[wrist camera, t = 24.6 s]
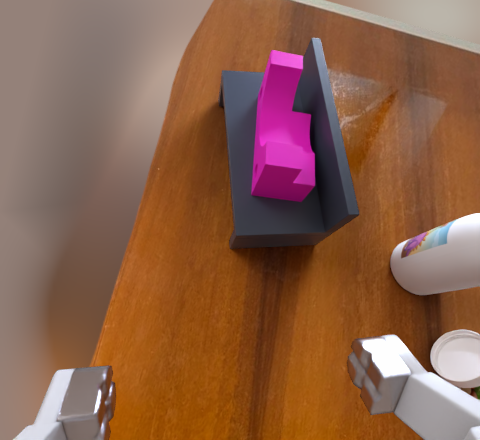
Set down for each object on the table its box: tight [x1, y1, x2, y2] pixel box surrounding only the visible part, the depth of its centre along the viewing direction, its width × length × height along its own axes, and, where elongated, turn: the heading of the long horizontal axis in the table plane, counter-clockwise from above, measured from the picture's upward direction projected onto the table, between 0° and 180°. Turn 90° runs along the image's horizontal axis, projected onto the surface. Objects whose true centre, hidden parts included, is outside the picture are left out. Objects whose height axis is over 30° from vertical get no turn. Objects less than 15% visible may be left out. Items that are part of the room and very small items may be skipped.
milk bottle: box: [390, 213, 480, 295], centre depth 35 cm, size 8×8×20 cm
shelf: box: [218, 38, 359, 249], centre depth 41 cm, size 12×24×12 cm, turn 5°
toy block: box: [251, 50, 315, 202], centre depth 37 cm, size 15×6×8 cm, turn 176°
